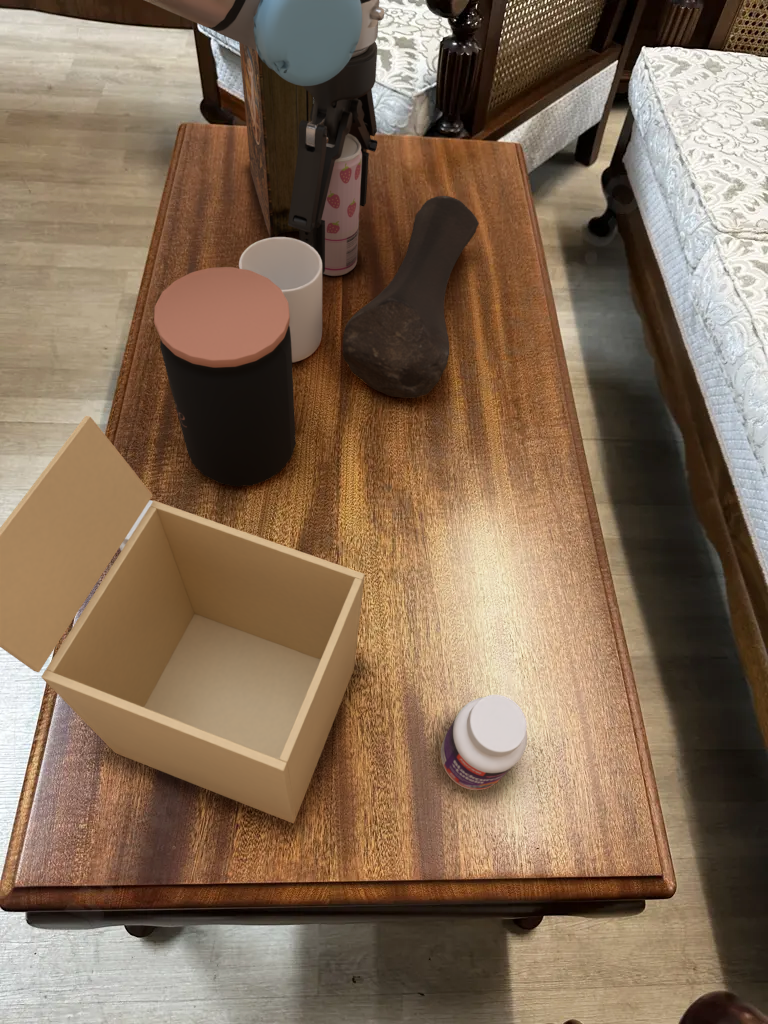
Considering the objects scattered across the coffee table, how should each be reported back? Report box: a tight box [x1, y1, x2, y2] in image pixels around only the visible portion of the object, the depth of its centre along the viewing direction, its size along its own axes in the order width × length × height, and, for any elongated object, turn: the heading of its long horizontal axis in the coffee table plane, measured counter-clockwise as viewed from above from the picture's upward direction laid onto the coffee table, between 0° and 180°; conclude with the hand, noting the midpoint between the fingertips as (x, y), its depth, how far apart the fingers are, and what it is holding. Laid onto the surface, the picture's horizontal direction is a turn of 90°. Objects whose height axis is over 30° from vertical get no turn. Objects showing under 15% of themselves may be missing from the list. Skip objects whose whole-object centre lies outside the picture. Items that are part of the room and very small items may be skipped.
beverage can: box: [321, 133, 362, 277], centre depth 82 cm, size 6×6×15 cm
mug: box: [238, 236, 323, 363], centre depth 76 cm, size 12×8×10 cm
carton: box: [41, 500, 366, 824], centre depth 51 cm, size 15×13×18 cm
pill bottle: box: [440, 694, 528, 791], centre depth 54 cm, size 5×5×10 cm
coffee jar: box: [153, 266, 297, 487], centre depth 65 cm, size 11×11×18 cm
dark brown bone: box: [342, 195, 480, 399], centre depth 81 cm, size 11×10×28 cm
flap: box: [0, 415, 154, 673], centre depth 41 cm, size 7×13×1 cm
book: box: [238, 42, 314, 238], centre depth 83 cm, size 16×6×25 cm, turn 15°
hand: (334, 234), depth 85 cm, fingers open, 13 cm apart
